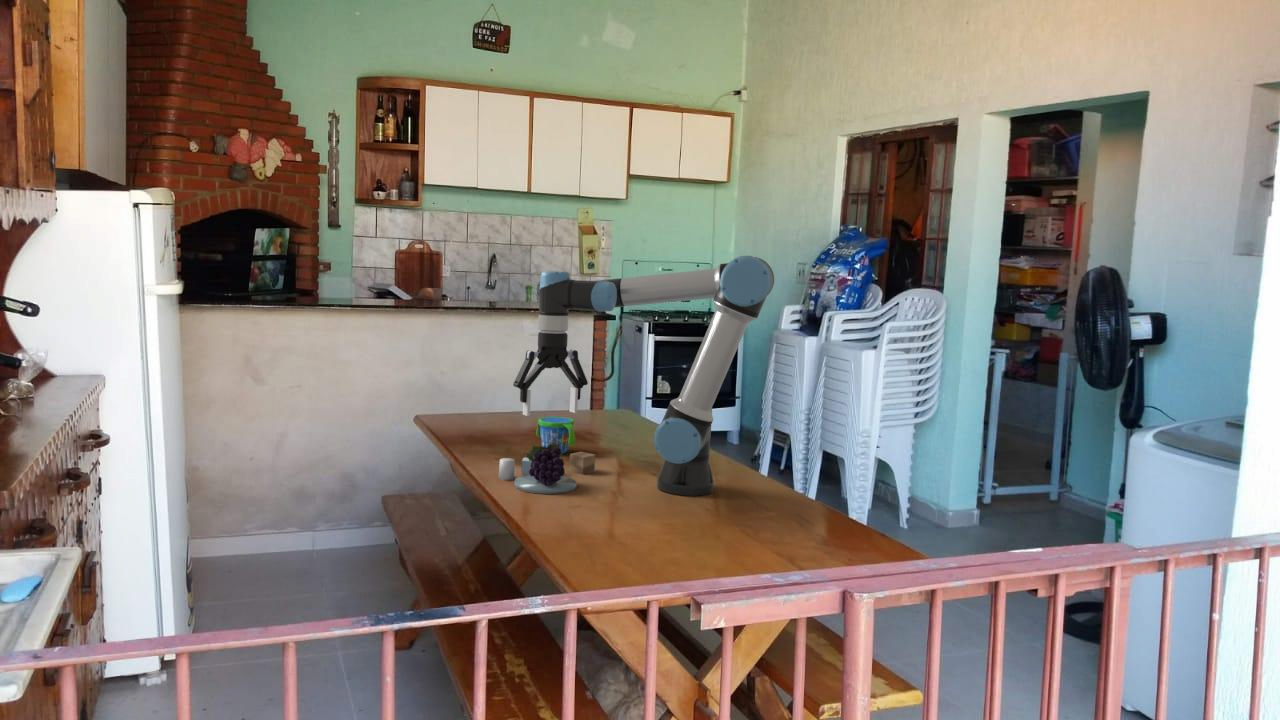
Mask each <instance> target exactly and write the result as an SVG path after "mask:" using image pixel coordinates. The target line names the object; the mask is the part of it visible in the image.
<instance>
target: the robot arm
mask: <svg viewBox="0 0 1280 720" xmlns="http://www.w3.org/2000/svg"><path fill="white" fill-rule="evenodd" d="M539 278H540V281H539V294H538V295H539V297H538V298H539V299H538V300H539V301H538V303H539V304H538V305H539V306H538V325H537V326H538V331H539V332H538V334H537V351H533V350H526V352H525V359H524V361H523V362H522V365H521V367H520V369H519V371H518V372H517V375H516V377H515V380H514V381H513V387H515V388H518V389H519V390H520V391H519V392H520V393H519V401H520V403H522V415H523V416H526V417H530V416H531V395H532V393H531V391H532V390H531V389H529V388H530V387H531V386H532V384H534V382H535V381H536V379H537V378H538V376H540V374H541V373H542V371H544V370H545V369H553V368H554V369H561V371H562V372H563V374H564V375H565V376H566V378H567V379H568V380H569V382H570V383H571V384H572V386H570V392H569V393H570V394H569V412H570V413H574V414H578V402H579V400H580V399H581V394H582V393H581V392H582V391H581V389H583V387H584V386H588V383H589V381H588V379H587V376H586V373H585V371H584V370H583V367H582V365H581V361H580V359H579V353H578V350H576V349H570V350H568V349H567V347H568V340H569V339H568V337H569V336H568V335H569V334H568V333H567V331H569V310H577V311H590V312H599V313H601V312H603V313H604V312H612V311H614V309H615V308H622V307H631V306H642V305H643V306H644V305H652V304H653V305H654V304H664V303H665V304H666V303H674V302H675V303H677V302H684V301H696V300H697V301H698V300H707V299H713V300H712V302H713V304H714V307H715V311H714V313H713V315H712V318H711V320H710V322H709V325H708V328H706V329H707V330H706V332H705V335H704V337H703V340H702V342H701V344H700V346H699V349H698V350H697V353H696V356H695V358H694V361H693V363H692V365H691V368H690V370H689V372H688V374H687V378H686V379H685V382H684V384H683V387H682V388H681V391H680V394H679V396H678V397H677V398H674V399H672V400H670V402H669V404H668V406H667V409H666V411H665V413H664V416H663V419H662V421H661V422H660V423H659V424H658V426H657V427H656V429H655V431H654V436H653V445H654V448H655V450H656V452H657V453H658V454H659V456H660V457H661V458H662V459H664V461H663V464H662V466H661V468H660V471H659V475H658V476H657V479H656V488H657V489H659V491H661V492H664V493H667V494H673V495H679V496H690V497H691V496H694V497H695V496H705V495H709V494H712V493H713V492H714V487H715V486H714V483H715V482H714V478H713V473H712V469H711V466H710V450H711V449H710V448H711V434H712V424H713V421H714V417H713V409H712V408H713V406H714V404H715V402H716V399H717V398H718V397H717V396H718V395H719V392H720V390H721V387H722V386H723V383H724V380H725V378H726V377H727V373H728V371H729V369H730V366H731V364H732V362H733V360H734V357H735V355H736V352H737V351H738V348H739V345H740V343H741V342H742V338H743V337H744V334H745V332H746V329H747V327H748V325H749V324H750V323H751V322H753V321H755V320H757V319H758V317H759V315H760V313H761V310H762V308H763V306H764V304H765V301H766V300H767V297H768V296H769V295H770V293H772V290H773V287H774V285H775V275H774V272H773V269H772V267H771V265H770V264H769V263H768V262H767V261H765V260H764V259H762V258H760V257H757V256H752V255H741V256H738V257H736V258H734V259H732V260H730V261H729V262H726V263H719V264H718V265H717V267H716V268H707V269H705V268H704V269H699V270H698V269H697V270H696V269H695V270H690V271H689V270H687V271H678V272H669V273H658V274H648V275H642V276H641V275H639V276H630V277H622V278H609V279H608V278H607V279H601V280H578V279H571V275H570V273H569V271H559V270H545V271H542V272H541V274H540V277H539ZM536 358H537V359H538V360H537V361H536V363H535V365H534V367H533V369H532V368H531V367H532V365H533V364H534V361H535V359H536ZM567 358H569V361H570V362H571V365H572V368H573V370H574V372H573V371H572V370H571V368H570V366H569V365H568V363H567V362H566V359H567ZM574 373H575V374H574Z"/></svg>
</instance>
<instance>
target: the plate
mask: <svg viewBox="0 0 1280 720" xmlns="http://www.w3.org/2000/svg"><path fill="white" fill-rule="evenodd" d="M514 487H515V488H516V489H517V490H519V491H520V492H521V491H522V492H524V493H525V492H526V493H529V492H530V493H531V494H536V493H537V494H538V495H560V494H561V493H562V494H566V493H571V492H573V491H575V490H576V489H577V481H576V480H575V479H573V478H571V477H569V476H564V475H563V476H560V480H559V481H557V482H554V483H553V485H548V486H545V485H544V484H542V482H541V481H540V480H536V479H535V478H534V476H530V475H521V476H518V477H516V478H514ZM559 493H560V494H559ZM562 494H561V495H562Z"/></svg>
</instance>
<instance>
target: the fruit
mask: <svg viewBox="0 0 1280 720" xmlns="http://www.w3.org/2000/svg"><path fill="white" fill-rule="evenodd" d="M559 446H560V444H557V445H556V444H554V445H553V444H550V445H549V446H548V447H545V446H544V447H543V446H542V445H541V446H540V445H537V446H536V445H533V446H532V447H531V448H532V449H531V450H529V452H526V453H525V454H526V458H528V459H529V461H531V462H532V463H531V466H530V467H531V468H530V470H529V475H530V476H534V478H535V479H536V480H540V481H541V482H542V484H544V485H545V486H548V485H553V483H554V482H557V481H559V480H560V476H564V475H565V473H566V472H565V467H564V465H565V462H564V460H563V459H562V458H561V457H562V456H563V453H561V449H560V448H559Z"/></svg>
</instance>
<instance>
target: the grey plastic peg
mask: <svg viewBox="0 0 1280 720" xmlns="http://www.w3.org/2000/svg"><path fill="white" fill-rule="evenodd" d="M515 462H516V460H515V458H510V457H507V458H506V457H503V458H500V459H499V463H498V464H499V467H498V468H499V469H498V480H501V481H512V480H515V464H516V463H515Z"/></svg>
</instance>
